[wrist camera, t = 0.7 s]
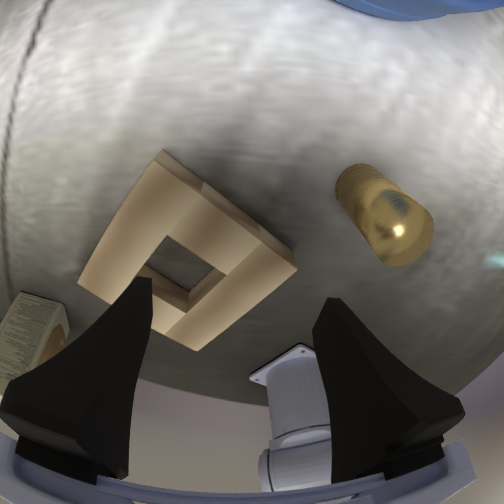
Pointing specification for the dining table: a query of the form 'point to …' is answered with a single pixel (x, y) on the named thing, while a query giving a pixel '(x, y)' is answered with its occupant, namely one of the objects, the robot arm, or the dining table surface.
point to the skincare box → (30, 336)
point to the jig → (197, 241)
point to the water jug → (420, 7)
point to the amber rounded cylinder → (384, 215)
